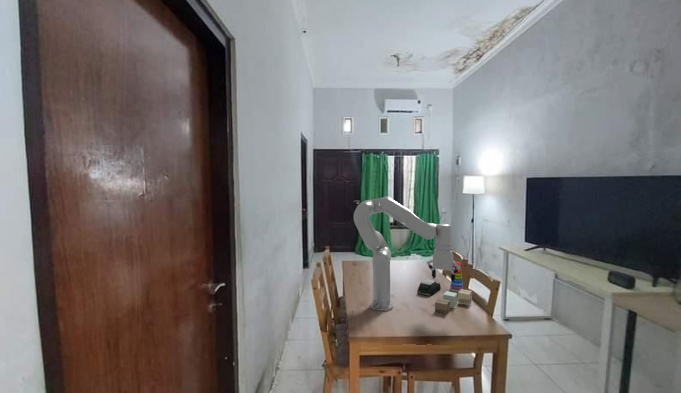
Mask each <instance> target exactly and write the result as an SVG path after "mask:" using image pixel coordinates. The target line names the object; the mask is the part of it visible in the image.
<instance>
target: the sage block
mask: <svg viewBox="0 0 681 393" xmlns="http://www.w3.org/2000/svg"><path fill="white" fill-rule="evenodd" d="M442 297H443V298H442V299H444V300H449V301H450V308H452V307H455V306H456V305H457V302H458V292H453V291H449V290H448V291H447V290H446V291H445V292H444V293H443V296H442ZM457 306H458V305H457ZM457 306H456V307H457Z"/></svg>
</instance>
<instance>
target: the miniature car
mask: <svg viewBox="0 0 681 393" xmlns="http://www.w3.org/2000/svg"><path fill="white" fill-rule="evenodd" d="M441 289H442V288H441V283H440V282H437V281H436V280H435V279H429V278H426V279H424V280H422V281H421V282H420V284H419V286H418V288H417V291H416V292H417V294H418V295H419V294H422V295H425V296H429V297H432V296H434V294H435V293H437V292H438V291H440V290H441Z"/></svg>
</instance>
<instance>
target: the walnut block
mask: <svg viewBox="0 0 681 393" xmlns="http://www.w3.org/2000/svg"><path fill="white" fill-rule="evenodd" d="M450 309H451V307H450V301H449V300H444V299H443V298H440V297H439V298H437V299H436V300H434V312H436V313H440V314H443V315H447V314H448V313H450V311H451V310H450Z"/></svg>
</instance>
